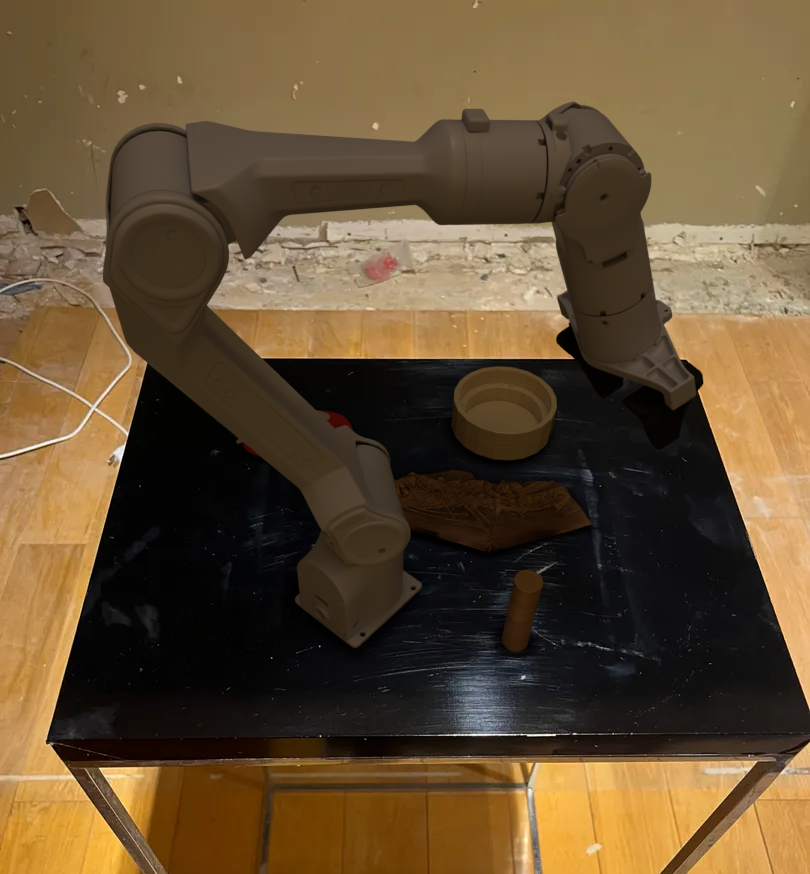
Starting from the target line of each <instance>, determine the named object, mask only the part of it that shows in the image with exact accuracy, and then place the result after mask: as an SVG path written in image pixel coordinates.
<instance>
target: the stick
mask: <svg viewBox="0 0 810 874" xmlns="http://www.w3.org/2000/svg"><path fill="white" fill-rule="evenodd" d="M543 586H544V579H543V577H542V575H540V573H538V572H537V571H535V570H531V569H523V570H522V569H521V570H520V571H518V572H517V573H516V574H515V576H514V578H513V583H512V587H511V593H510V597H509V602H508V607H507V612H506V616H505V621H504V626H503V631H502V635H501V643H502V646H503V647H504V648H505V649H507V650H508V651H510V652H515V653H519V652H522V651H524V650H525V649H526V648H527V647H528V645H529V641H530V637H531V633H532V629H533V625H534V622H535V618H536V613H537V609H538V607H539V601H540V598H541V594H542V591H543Z"/></svg>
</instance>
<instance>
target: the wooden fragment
mask: <svg viewBox="0 0 810 874" xmlns="http://www.w3.org/2000/svg"><path fill="white" fill-rule="evenodd" d="M394 481H395V485H396V488H397V492H398V495H399V499H400V502H401V506H402V509H403V513H404V517H405V518H406V520H407V522H408V524H409V526H410V531H413V532H418V533H423V534H426V535H429V536H432V537H436V538H439V539H442V540H445V541H449V542H452V543H456V544H460V545H463V546H466V547H470V548H472V549H476V550H478V551H479V550H480V551H482V552H484V553H487V554H489V555H490V554H491V555H492V554H495V553H497V552H499V551H501V550H505V549H508V548H511V547H515V546H520V545H523V544H527V543H531V542H534V541H538V540H541V539H546V538H549V537H550V538H551V537H553V536H557V535H560V534H561V535H562V534H566V533H569V532H572V531H575V530H578V529H581V528H583V527H587V526H590V527H591V528H592V530H594V527H593V525H592V522H591V520H590V519H589V518H588V516H587V515H586V513H585V512H584V510H583V508H582V507H581V505H579V503H577V501H576V500H575V499H574V498H573V497H572V496H571V494H570V493H569V490H568V489H567V488H566V487H565V486H563V485H559V484H558V483H557V482H556V481H555V480H554V479H551V480H550V481H546V480H542V481H541V480H528V481H524V482H523V483H520V482H517V481H506V480H504V479H503V480H501V481H500V483H498V484H496V483H491V482H489V481H488V480H483V479H476V478H475V476H474V475H473V474H472V473H471V472H468V471H464V470H463V471H462V470H455V469H451V470H447V471H440V472H433V473H431V474H429V473H426V474H418V473H416V472H414V471H411V472H410V473H408V474H407V475H405V476H402V477H400V478H398V479H394Z"/></svg>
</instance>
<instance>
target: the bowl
mask: <svg viewBox="0 0 810 874" xmlns="http://www.w3.org/2000/svg"><path fill="white" fill-rule="evenodd" d="M557 409H558V403H557V396H556V394H555V391H554V390H553V389H552V387H551V386H550V385H549V384H548V383H547V382H546V381H545V380H544V379H543V378H542V377H540V376H537V375H535V374H534V373H532V372H530V371H528V370H524V369H520V368H518V367H514V366H513V367H512V366H500V365H499V366H497V365H496V366H489V367H488V366H487V367H483V368H480V369H476V370H475V371H471V372H470V373H468V374H467V375H466V376H464V377H463V378H461V379H460V380H459V382H458V383H457V385H456V386H455V388H454V391H453V401H452V411H451V412H452V413H451V425H450V426H451V430H452V432H453V434H454V437H455V438H456V440H458V442H460V444H461V445H462V446H463V447H464V448H466V449H467V450H469V451H470V452H472V453H474V454H476V455H478V456H481V457H484V458H488V459H491V460H498V461H499V460H500V461H517V460H521V459H522V460H523V459H526V458H528V457H530V456H533V455H536V454H537V453H539V452H540V451H541V450H543V449H544V447H545V446H547V444H548V442H549V440H550V438H551V435H552V433H553V428H554V423H555V419H556V415H557Z"/></svg>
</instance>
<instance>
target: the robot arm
mask: <svg viewBox="0 0 810 874" xmlns="http://www.w3.org/2000/svg"><path fill="white" fill-rule="evenodd" d="M106 185H107V186H106V195H105V206H104V207H105V221H106V224H105V225H106V230H105V231H106V232H105V233H106V234H105V235H106V236H105V253H104V261H103V266H102V282H103V284H105V285H106V286H107V287H108V288H109V292H110V295H111V298H112V301H113V304H114V307H115V311H116V315H117V318H118V321H119V323H120V328H121V331H122V335H123V338H124V340H125V343H126V344H127V346H128V347H129V348H130V349H131V350H132V351H133V353H135V354H136V355H137V356H138V357H139V358H141V359H142V360H143V361H145V362H146V363H147V364H148V365H149V366H150V367H152V368H153V369H154V370H155V371H156V372H158V373H159V374H160V375H161V376H163V377H164V378H165V379H167V381H169V382H170V383H171V384H172V385H173V386H174V387H176V388H177V389H178V390H179V391H181V392H182V393H183V394H184V395H186V396H187V397H188V398H189V399H190V400H192V401H193V402H194V403H195V404H196V405H197V406H199V407H200V408H201V409H203V411H205V412H206V413H207V414H209V416H210V417H212V418H213V419H214V420H216V421H217V422H218V423H219V424H221V425H222V426H223V427H224V428H225V429H227V430H228V431H229V432H230V433H231V434H233V436H235V437H236V438H237V439H240V440H241V441H242V442H244V443H245V444H246V445H247V446H249V447H250V448H251V449H252V450H253V451H255V452H256V453H257V454H258V455H259V456H261V457H260V458H262V460H264V461H265V462H267V463H268V464H269V465H270V466H271V467H272V468H274V469H275V470H276V471H277V472H278V473H280V474H281V475H282V476H283V477H284V478H286V480H288V481H290V482H291V483H292V484H293V485H294V486H296V487H297V488H298V489H299V491H300V492H301V494H302V496H303V498H304V500H305V502H306V504H307V506H308V508H309V509H310V512H311V514H312V516H313V517H314V520H315V521H316V523H317V526H318V527H319V529H320V532H319V535H318V538H317V539H316V541H315V543H314V544H313V546H312V548H310V550H309V551H308V553H307V554H306V555H305V556H304V557H302V558H301V559H300V560H299V561H298V563H297V566H296V573H297V583H298V589H299V590H298V591H299V592H298V594H297V595H296V596H295V597H294V602H295V604H296V605H297V606H298V607H299V608H301V609H302V610H304V611H305V612H306V613H307V614H309V615H310V616H311V617H312V618H314V619H315V620H316V621H318V622H319V623H320V624H322V625H323V626H324V627H325V628H327V629H328V630H329V631H331V633H333V634H334V635H336V636H337V637H338V638H340V639H341V640H342V641H343V642H345V643H346V644H347V645H348V646H350V647H351V648H354V649H357V648H359V647H360V646H362V644H364V643H365V642H366V641H368V639H369V638H370V637H372V635H373V634H374V633H376V632H377V631H378V630H379V629H380V628H381V627H382V626H383V625H385V623H387V622H388V620H390V619H391V618H392V617H393V616H394V615H396V613H397V612H398V611H399V610H401V609H402V608H403V607H404V606H405V605H406V604H407V603H409V601H410V600H412V599H413V598H414V597H415V596H416V595H417V594H418V593H419V592H420V591H421V590H422V588H423V584H422V582H421V581H419V580H418V579H416V578H415V577H414V576H412V575H411V574H410V573H408V572H407V571H405V570H404V560H405V559H404V557H405V548H407V546H408V544H409V543H410V540H411V537H412V532H411V531H412V530H410V526H409V524H408V522H407V520H406V518H405V517H404V513H403V509H402V506H401V502H400V499H399V495H398V492H397V488H396V485H395V481H394V480H395V478H394V475H393V471H392V468H391V456H390V453H389V452H388V450H387V448H386V447H385V446H384V445H383V444H381V443H380V442H379V441H376V440H374V439H370V438H367V437H365V436H364V437H363V436H361V435H359V434H358V433H356V432H355V431H354V430H353V431H352V430H351V429H350V428H349V427H348V426H346V425H345V426H341V427H338V428H334V427H333V426H332V425H331V424H330V423H329V422H327V421H326V420H325V419H324V418H323V417H322V416H321V415H320V414H319V413H318V412H317V411H316V410H317V409H315V408H314V407H313V405H311V404H310V403H309V402H308V401H307V400H306V399H305V398H304V397H303V396H302V395H301V394H300V393H299V392H298V391H297V390H296V389H294V388H293V386H291V384H290V383H288V382H287V381H286V380H285V379H284V378H283V377H282V376H281V375H280V374H279V373H278V372H277V371H276V369H275V370H274V368H273V367H272V366H271V365H270V364H269V363H268V362H266V361H265V360H264V359H263V358H262V357H261V355H259V354H258V353H257V351H255V350H254V349H253V348H252V347H251V346H250V345H249V344H247V342H245V340H244V339H242V338H241V337H240V336H239V335H238V333H236V332H235V331H234V330H233V329H232V328H231V327H230V326H229V325H228V324H227V323H226V322H225V321H224V320H223V319H222V318H221V317H220V316H219V315H218V314H217V313H216V312H214V310H213V309H211V308H210V307H209V306H208V305H209V303H210V301H211V300H212V298H213V296H214V295H215V293H216V291H217V290H218V288H219V287H220V285H221V283H222V281H223V280H224V277H225V274H226V272H227V270H228V267H229V262H230V247H229V245H231V244H233V243H235V242H236V243H237V245H238V247H239V249H240V252H241V255H242V257H243V259H244V260H248V259H250V258H251V257H253V255H255V253H256V252H257V251H258V250H259V248H260V247H261V246H262V244H263V243H264V242H265V241H266V239H267V238H268V237H269V236H270V234H272V232H273V231H274V230H275V228H276V227H277V226H278V225H279V224H280V222H281V221H282V220H283V219H284V218H286V217H288V216H296V215H308V214H319V213H333V212H345V211H357V210H370V209H372V210H373V209H382V208H394V207H395V208H396V207H407V206H408V207H409V206H417V207H418V208H420V209H421V210H423V212H425V213H426V215H427V216H428V217H429V218H430V219H431V221H433V222H434V223H435V225H438V226H479V225H480V226H481V225H483V226H485V225H489V226H490V225H527V224H529V225H537V224H538V225H539V224H547V223H551V225H552V230H553V233H554V238H555V250H556V255H557V257H558V261H559V265H560V269H561V272H562V276H563V280H564V284H565V288H566V290H565V291H564V292H562V293H561V294H559V295H558V296H556V299H557V304H558V306H559V311H560V314H561V316H562V317H564V318H565V319H566V320H568V321H569V322H568V326H567V327H565V328H564V329H562V330H560V332H558V333H557V334H556V337H555V341H556V344H557V345H558V347H560V348H561V349H562V350H563V351H564V352H565V353H566V354H568V355H569V356H571V357H572V358H573V360H574V361H575V362H576V363H577V365H578V366H579V367H580V369H581V370H582V372H583V374H584V375H585V377H586V379H587V380H588V382H589V384H590V385H591V387H592V388H593V390H594V391H595V392H596V394H597V395H598V396H599V397H600V398H601V399H602V400H604V399H606V398H607V397H608V396H610V395H612V394H614V393H615V392H617V391H618V390H619V389H621V388H623V386H624V381H625V380H624V379H626V380H628V381H631V382H634V383H636V384H640V385H642V386H641V387H640V388H638V389H636V390H635V391H633V392H632V393H630V394H629V395H627V396H626V397H624V398H623V399H622V400H621V402H622V405H624V406H625V407H626V408H627V409H628V410H629V411H630V412H632V414H634V415H635V416H636V417H637V418H638V419H639V421H640V423H641V424H642V426H643V429H644V431H645V434H646V436H647V438H648V440H649V442H650V443H651V445H652V446H653V447H654V448H655V449H656V450H657V451H661V450H663V449H664V448H665V447H667V446H668V445H670V444H671V443H673V442H675V441H676V440H678V439H679V438H680V435H681V430H682V426H683V422H684V418H685V415H686V412H687V410H688V408H689V405H690V404H691V402H692V400H693V399H694V397H697V393H698V392H699V390H701V388H702V387H703V385H704V374H703V373H702V371H701V370H700V369H699V368H697V367H696V366H695V365H693V364H692V363H691V362H689V361H687V362H686V363H684V364H683V362H682V360H681V358H680V356H679V354H678V351H677V349H676V348H675V345H674V343H673V341H672V339H671V337H670V335H669V332H668V330H667V328H666V326H665V324H666V323H668V322H670V321H671V320H672V318H673V310H672V308H671V307H670V306H669V305H667V304H666V303H665V302H664V301H662V300H660V299H657V298H656V291H655V285H654V280H653V279H654V278H653V273H652V272H653V271H652V266H651V261H650V255H649V248H648V242H647V236H646V230H645V223H644V220H643V218H642V212H643V210H644V207H645V205H646V204H647V201H648V200H649V196H650V193H651V188H652V173H651V172H650V171H648V172H647V171H646V169H645V165H644V162H643V160H642V158H641V156H640V155H639V153H638V152H637V151H636V149H635V148H634V147H633V146H632V145H631V144H630V142H629V141H628V140H627V139H626V137H624V136H623V135H622V133H621V132H620V130H619V129H618V128H617V127H616V126H615V125H614V124H613V122H612V121H611V120H610V119H609V118H608V117H607V115H605V114H604V113H602V112H601V111H600V110H599V109H596V108H595V107H592V106H591V105H586V104H580V103H578V102H576V101H570V102H565V103H563V104H561V105H559V106H557V107H555V108H553V109H552V110H551V111H549V112H548V113H547V114H545V115H544V116H543V117H541V118H540V119H531V120H530V119H529V120H528V119H490V118H489V116H488V115H487V113H486V111H485V110H484V109H483V108H464V109H462V112H461V119H454V118H453V119H452V118H451V119H447V118H445V119H439V120H437V121H436V122H434V123H433V124H432V125H431V126H429V128H428V129H427V130H426V131H425V132H424V133H423V134H422V135H421V136H420V137H419V138H418V139H416V140H414V141H411V140H410V141H409V140H393V139H378V138H365V137H364V138H362V137H347V136H334V135H318V134H317V135H316V134H305V133H303V134H301V133H287V132H272V131H259V130H251V129H250V130H249V129H244V128H241V127H236V126H232V125H227V124H223V123H219V122H215V121H210V120H201V121H194V122H189V123H185V128H183V127H181V126H178V125H174V124H172V123H171V124H170V123H165V122H153V123H146V124H142V125H140V126H139V125H138V126H137V127H135V128H133V129H131V130H130V131H128V132H127V133H125V134H124V135H123V136H122V137H121V139H120V140H119V141H118V142H117V143H116V145H115V147H114V149H113V151H112V154H111V157H110V162H109V170H108V177H107V183H106ZM259 456H258V457H259ZM362 635H364V636H362Z"/></svg>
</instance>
